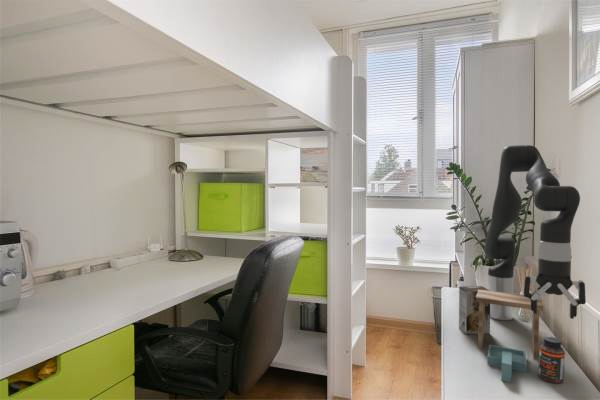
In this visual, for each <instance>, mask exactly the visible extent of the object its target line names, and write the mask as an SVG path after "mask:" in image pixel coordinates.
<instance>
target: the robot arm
mask: <svg viewBox="0 0 600 400" xmlns="http://www.w3.org/2000/svg"><path fill="white" fill-rule="evenodd" d="M514 172H515V173H525V172H526V176H525V182H526V185H527V186H528V187H529V189H530V190H531V191H532V193H533V203H534V206H535V208H536V209H538V210H540V211H543V212H559V214H558V215H557V216H556V217H555V218H550V219H546V220H543V221H541V223H540V227H539V228H540V229H539V231H540V232H539V233H540V235H539V236H540V237H539V246H538V263H537V265H538V268H537V276H531V275H529V274H527V275H525V277H524V283H523V286H524V287H523V295H524V296H525V297H528V298H530V299H531V309H530V310H531V311H532V313H533V312H534V313H535V314H537V298H538V297H541V296H542V295H543V294H544V293H546V294H547V295H556V296H562V295H564V296H565V297H566V299H567V300H568V301H569V319H572V320H573V319H574V318H576V317H577V315H578V314H577V313H578V306H580V305H586V303H587V301H586V283H585V282H584V281H583V280H580V279H579V280H572V278H571V273H572V271H571V270H572V256H573V255H572V248H571V247H572V245H571V234H572V232H571V231H572V225H573V222H574V219H575V217H576V213H577V212H578V208H579V205H580V203H581V196H580V192H579V191H578V189H577V188H576V187H574V186H572V185H561V183H560V182H559V180H558V178H556V176H554V175H553V173H552V172H550V170H549V169H548V168H547V165H546V162H545V160H544V159H543V157H542V154H541V153H540V150H539V149H538V148H537V147H536V146H534V145H531V144H522V145H521V144H517V145H507V146H505V147H504V148H503V149H502V152H501V156H500V164H499V172H498V181H497V182H498V183H497V187H496V192H495V197H494V200H493V205H492V206H493V207H492V212H491V218H490V225H489V229H488V232H487V236H486V238H485V243H484V248H483V249H484V254H485V255H484V256H486V258H488V259H494V260H502V262H500V263H498V264H496V265H492V266H490V267H489V268H488V270H487V271H488V272H487V289H488V290H490V291H494V292H502V293H510V294H514V271H515V270H514V269H515V257H516V242H515V240H514V238H513V237H510V236H501V234H502V233H503V232H504V231H505V230H506V229H508V228H509V227H510V226H512V225H513V224H514V223H515V222H516V221H517V219H518V218H519V217H520V213H521V210H522V209H521V208H522V205H523V200H522V197H521V195H520V192H519V191H518V190H517V188H516V186H515V185H514V184H513V181H512V179H511V178H512V176H511V175H512V173H514ZM534 282H536V283H537V285H539V286H538V287H537V288H536V290H534V291H533V292H531V293H530V289H531V288H530V287H531V285H533V284H534ZM573 286H574V287H575V289H576V290H578V292H577V293H578V298H575V297H573V295H572V294H571V293H570V291H569V290H570V288H571V287H573ZM513 308H514V307H510V306H503V305H495V304H490V319H494V320H499V321H500V320H501V321H510V320H513ZM574 320H575V319H574Z"/></svg>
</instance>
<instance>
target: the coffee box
mask: <svg viewBox="0 0 600 400" xmlns="http://www.w3.org/2000/svg"><path fill="white" fill-rule="evenodd" d="M458 288H459V291H458V293H459V295H458V296H459V297H458V299H459V302H458V306H459V307H458V329H459V330H461V331H462V332H463V333H464V334H465V335H473V334H474V335H477V334H478V322H479V302H476V295H477V292H478V290H486V291H490V290H488V288H486V287H485V286H482V285H478V286H477V285H474V286H472V285H470V286H467V285H466V286H464V285H463V286H459V287H458ZM485 334H488V335H489V334H491V317H490V304H488V303H485V313H484V335H485Z"/></svg>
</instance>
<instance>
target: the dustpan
mask: <svg viewBox="0 0 600 400" xmlns="http://www.w3.org/2000/svg"><path fill="white" fill-rule="evenodd" d="M486 362H487V364H486V365H489V366H495V367H499V368H501V374H500V375H501V377H500V380H501V381H502V382H505V383H506V382H507V383H512V370H514V371H519V372H523V373H527V367H528V366H527V365H528V364H527V351H526V350H521V349H518V348H517V349H516V348H510V347H506V346H501V345H494V344H490V343H489V345H488V351H487V361H486Z"/></svg>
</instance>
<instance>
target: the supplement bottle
mask: <svg viewBox="0 0 600 400" xmlns="http://www.w3.org/2000/svg"><path fill="white" fill-rule="evenodd" d="M565 354H566V352H565V349H564V348H563V347H562V341H561V339H559V338H556V337H553V336H545V337H544V339H543V343H542V344H541V345H540V346H539V350H538V376H539V378H541V379H542V380H544V381H546V382H548V383H553V384H561V383H564V378H565V376H564V375H565V361H566V360H565V356H566V355H565Z"/></svg>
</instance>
